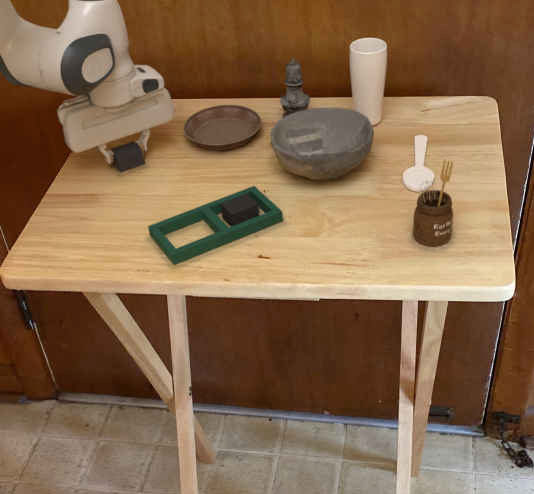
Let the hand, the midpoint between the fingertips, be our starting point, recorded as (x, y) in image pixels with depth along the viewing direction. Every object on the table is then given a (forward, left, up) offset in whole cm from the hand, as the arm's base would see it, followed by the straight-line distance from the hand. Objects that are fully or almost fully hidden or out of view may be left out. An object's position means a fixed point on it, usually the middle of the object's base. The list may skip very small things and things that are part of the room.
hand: (127, 156), depth 150 cm
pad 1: (0, 0, -2) cm, 2 cm away
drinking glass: (+44, -14, -2) cm, 46 cm away
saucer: (+19, -2, -2) cm, 19 cm away
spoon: (+42, -32, -2) cm, 53 cm away
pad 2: (+9, -28, -2) cm, 29 cm away
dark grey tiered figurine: (+34, -4, -2) cm, 34 cm away
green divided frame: (+4, -28, -2) cm, 28 cm away
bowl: (+28, -23, -2) cm, 36 cm away
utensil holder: (+31, -50, -2) cm, 59 cm away
